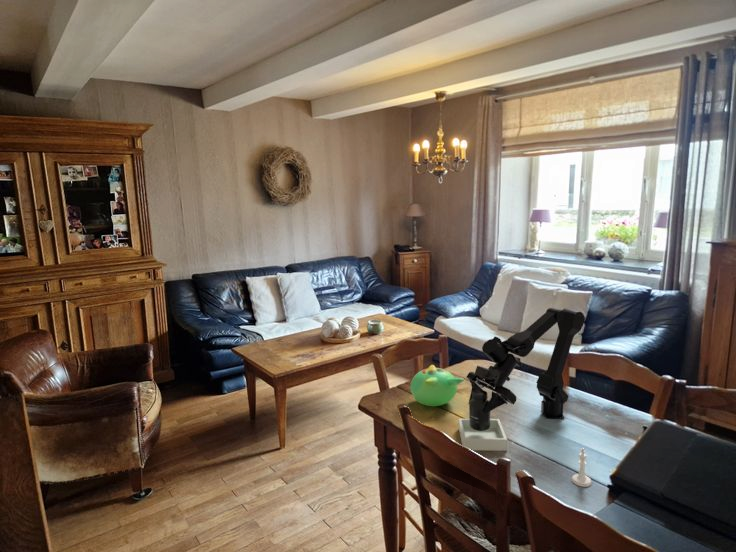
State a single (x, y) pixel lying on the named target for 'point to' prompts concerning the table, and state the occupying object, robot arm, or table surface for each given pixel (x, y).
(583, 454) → the chess piece
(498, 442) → the tray
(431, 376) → the toy bird
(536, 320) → the robot arm
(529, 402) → the table surface
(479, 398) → the supplement bottle
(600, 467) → the table surface
